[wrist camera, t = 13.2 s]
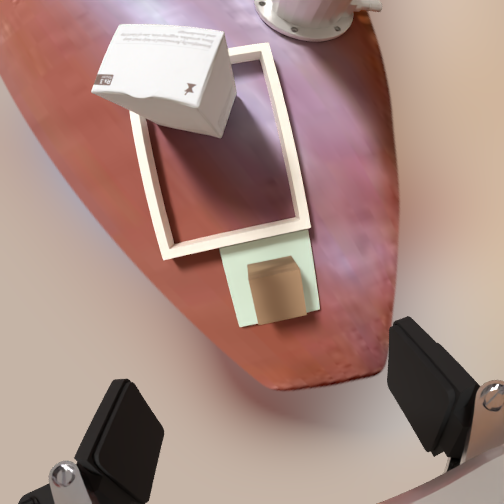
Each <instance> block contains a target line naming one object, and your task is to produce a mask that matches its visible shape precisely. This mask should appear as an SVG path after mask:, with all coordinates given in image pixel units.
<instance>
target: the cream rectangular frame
mask: <svg viewBox="0 0 504 504" xmlns="http://www.w3.org/2000/svg"><path fill="white" fill-rule="evenodd" d="M228 53H229V57H230V62H231V64H236V63H242V62H247V61H254V60H260V62H261V66H262V70H263V74H264V77H265V81H266V85H267V89H268V93H269V97H270V101H271V105H272V109H273V113H274V117H275V122H276V126H277V130H278V135H279V139H280V143H281V148H282V152H283V157H284V162H285V166H286V171H287V176H288V181H289V186H290V191H291V196H292V201H293V206H294V211H295V217H294V218H289V219H284V220H280V221H275V222H270V223H266V224H261V225H256V226H252V227H247V228H243V229H238V230H234V231H229V232H225V233H220V234H216V235H211V236H207V237H203V238H198V239H194V240H190V241H185V242H181V243H177V244H174V241H173V237H172V233H171V229H170V225H169V222H168V218H167V214H166V210H165V206H164V201H163V197H162V193H161V189H160V184H159V180H158V176H157V171H156V166H155V162H154V157H153V152H152V147H151V142H150V137H149V132H148V126H147V121H146V118H144V117H142V116H140V115H138V114H136V113H134V112H132V111H130V110H129V111H130V118H131V124H132V129H133V135H134V141H135V146H136V151H137V156H138V161H139V166H140V171H141V175H142V180H143V184H144V189H145V193H146V197H147V201H148V206H149V210H150V214H151V218H152V221H153V225H154V229H155V233H156V236H157V240H158V244H159V247H160V251H161V254H162V258H163V260H166V259H171V258H175V257H180V256H184V255H189V254H193V253H197V252H202V251H206V250H211V249H215V248H220V247H224V246H229V245H233V244H238V243H243V242H247V241H252V240H256V239H261V238H266V237H270V236H275V235H279V234H284V233H289V232H293V231H298V230H303V229H308V228H311V225H310V219H309V213H308V208H307V202H306V197H305V192H304V186H303V181H302V176H301V171H300V167H299V162H298V157H297V152H296V148H295V143H294V139H293V134H292V130H291V126H290V122H289V117H288V113H287V109H286V105H285V101H284V97H283V93H282V89H281V86H280V82H279V78H278V74H277V71H276V67H275V64H274V60H273V57H272V53H271V50H270V46H269V43H260V44H253V45H246V46H240V47H234V48H229V49H228Z"/></svg>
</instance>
